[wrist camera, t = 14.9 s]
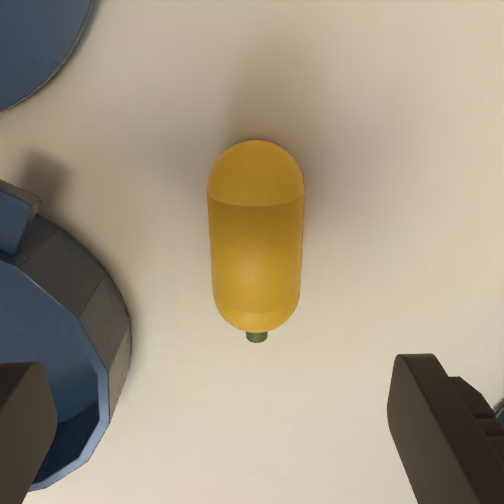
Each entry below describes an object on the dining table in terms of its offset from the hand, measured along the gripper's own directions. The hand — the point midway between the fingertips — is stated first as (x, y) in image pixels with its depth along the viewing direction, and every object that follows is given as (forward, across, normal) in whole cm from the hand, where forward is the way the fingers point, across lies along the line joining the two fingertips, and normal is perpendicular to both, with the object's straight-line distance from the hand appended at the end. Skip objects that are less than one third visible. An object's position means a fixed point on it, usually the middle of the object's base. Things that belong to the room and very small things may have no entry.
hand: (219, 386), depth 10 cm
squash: (+14, -1, +2) cm, 14 cm away
